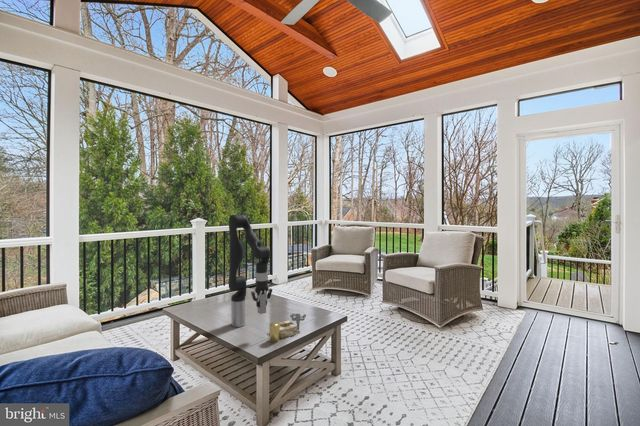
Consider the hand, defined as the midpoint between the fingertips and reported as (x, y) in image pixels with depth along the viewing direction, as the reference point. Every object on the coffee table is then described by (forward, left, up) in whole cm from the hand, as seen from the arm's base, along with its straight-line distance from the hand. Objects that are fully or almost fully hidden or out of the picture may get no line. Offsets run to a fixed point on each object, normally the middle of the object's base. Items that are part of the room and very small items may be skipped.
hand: (261, 306), depth 197 cm
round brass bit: (+9, +4, -19) cm, 22 cm away
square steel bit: (0, 0, -4) cm, 4 cm away
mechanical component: (+3, +24, -19) cm, 31 cm away
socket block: (+3, +14, -19) cm, 24 cm away
